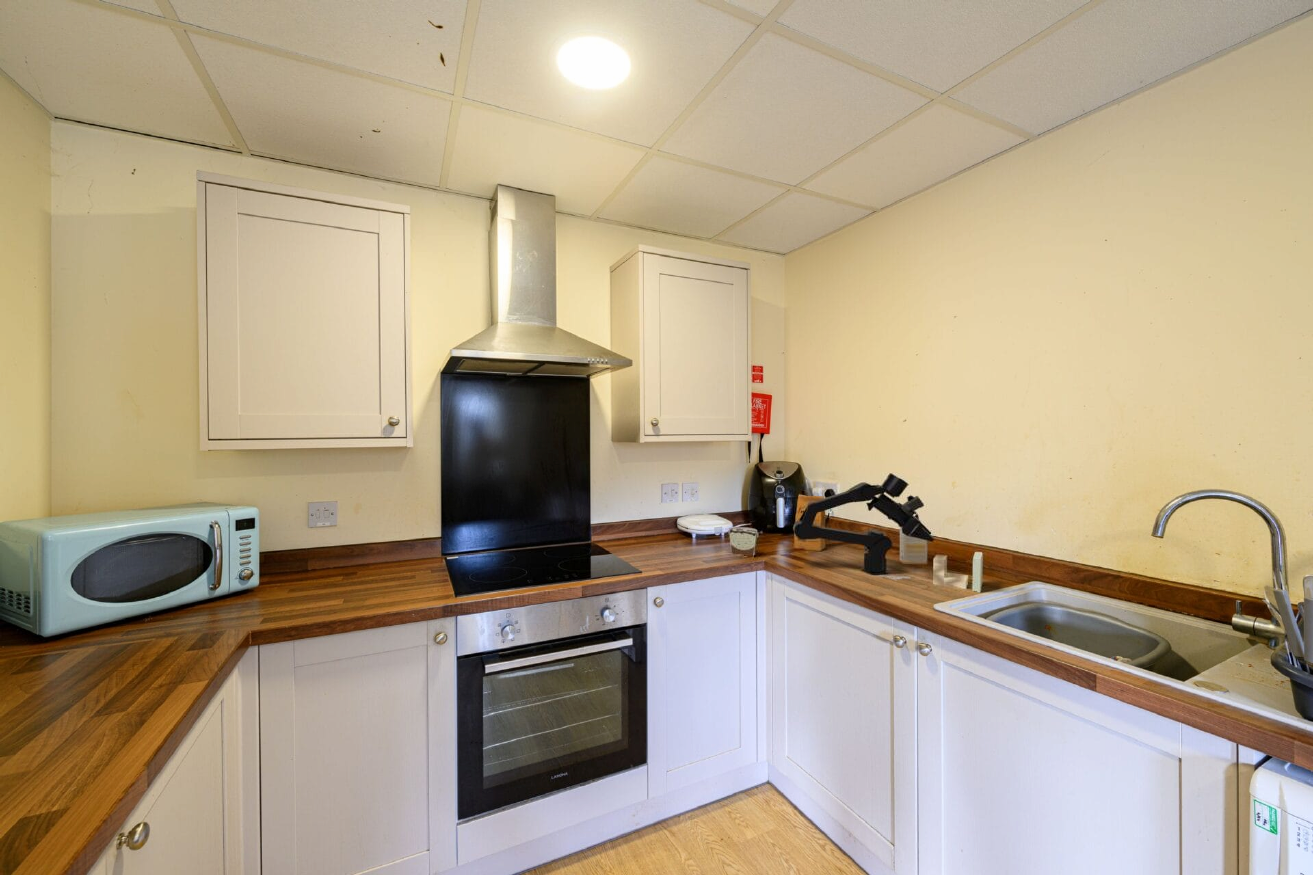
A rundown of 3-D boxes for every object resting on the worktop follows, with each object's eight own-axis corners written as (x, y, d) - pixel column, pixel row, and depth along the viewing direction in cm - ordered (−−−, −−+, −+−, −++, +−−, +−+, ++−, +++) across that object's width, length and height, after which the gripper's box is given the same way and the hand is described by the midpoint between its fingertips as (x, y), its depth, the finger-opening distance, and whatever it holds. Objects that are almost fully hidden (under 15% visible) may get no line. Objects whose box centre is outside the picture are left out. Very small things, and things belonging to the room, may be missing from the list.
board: (972, 591, 160) (972, 558, 160) (974, 582, 169) (975, 551, 169) (980, 592, 159) (980, 559, 158) (982, 583, 168) (982, 552, 167)
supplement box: (922, 561, 196) (922, 526, 195) (927, 565, 191) (927, 529, 191) (898, 561, 196) (899, 526, 196) (903, 564, 192) (904, 528, 191)
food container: (763, 554, 205) (763, 529, 205) (757, 557, 200) (757, 531, 200) (734, 550, 212) (734, 525, 212) (727, 553, 207) (727, 528, 207)
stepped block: (933, 584, 167) (933, 559, 167) (936, 578, 174) (936, 554, 173) (966, 589, 162) (966, 563, 162) (968, 583, 169) (968, 558, 168)
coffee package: (799, 544, 225) (799, 492, 224) (828, 548, 217) (828, 495, 217) (790, 548, 216) (790, 495, 216) (820, 552, 209) (821, 497, 209)
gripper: (906, 493, 168) (951, 524, 164) (903, 486, 186) (944, 513, 181) (884, 520, 171) (928, 551, 167) (883, 510, 188) (923, 538, 184)
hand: (932, 537), depth 175 cm, fingers open, 9 cm apart
